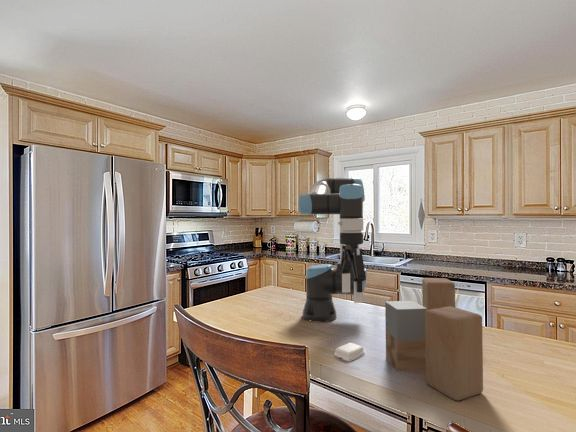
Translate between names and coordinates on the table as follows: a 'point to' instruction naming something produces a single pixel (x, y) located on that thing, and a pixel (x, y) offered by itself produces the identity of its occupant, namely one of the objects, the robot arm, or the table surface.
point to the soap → (349, 352)
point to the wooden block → (438, 293)
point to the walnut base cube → (405, 354)
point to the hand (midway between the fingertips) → (352, 297)
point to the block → (454, 352)
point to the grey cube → (405, 320)
